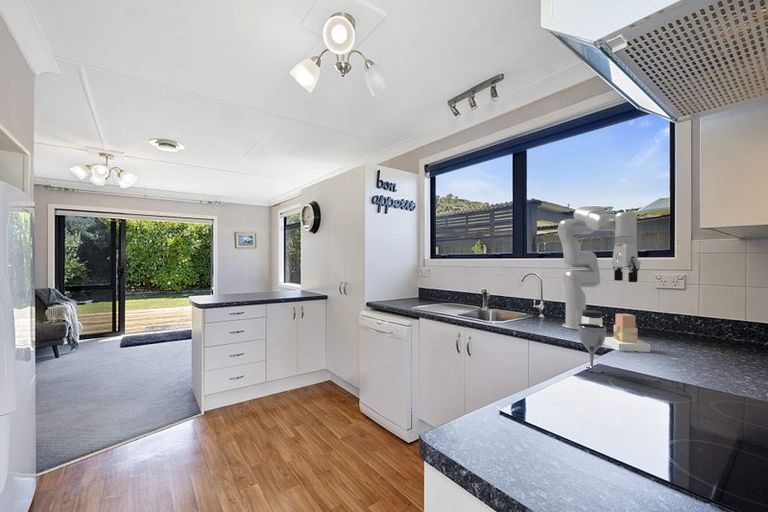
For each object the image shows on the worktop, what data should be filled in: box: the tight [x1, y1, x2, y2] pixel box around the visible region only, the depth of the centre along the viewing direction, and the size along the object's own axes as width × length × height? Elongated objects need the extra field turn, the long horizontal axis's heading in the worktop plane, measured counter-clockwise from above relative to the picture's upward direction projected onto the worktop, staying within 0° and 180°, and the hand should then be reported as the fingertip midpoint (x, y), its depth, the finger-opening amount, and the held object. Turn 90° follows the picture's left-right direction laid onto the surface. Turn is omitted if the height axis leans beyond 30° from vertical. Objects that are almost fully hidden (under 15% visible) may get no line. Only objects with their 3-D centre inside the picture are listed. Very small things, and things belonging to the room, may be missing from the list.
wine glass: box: [578, 324, 607, 369], centre depth 112 cm, size 8×8×15 cm
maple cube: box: [613, 324, 639, 342], centre depth 141 cm, size 6×6×6 cm
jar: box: [582, 309, 603, 326], centre depth 162 cm, size 9×8×12 cm
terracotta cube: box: [615, 313, 636, 328], centre depth 141 cm, size 5×5×5 cm
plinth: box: [603, 336, 651, 353], centre depth 141 cm, size 12×12×3 cm
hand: (625, 281), depth 141 cm, fingers open, 9 cm apart
